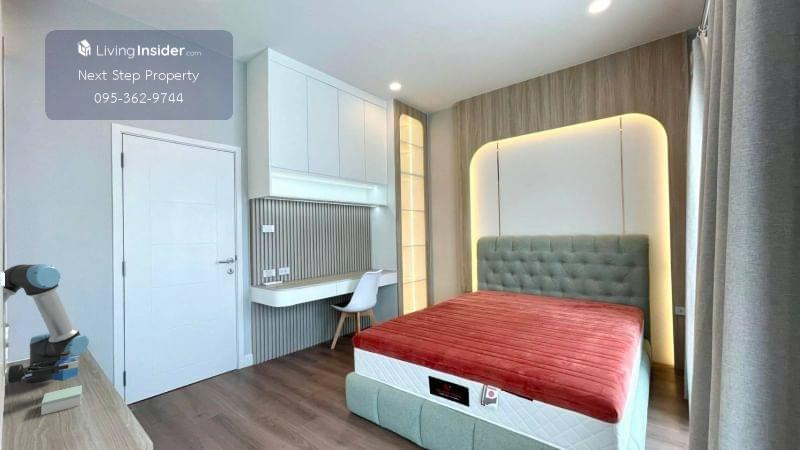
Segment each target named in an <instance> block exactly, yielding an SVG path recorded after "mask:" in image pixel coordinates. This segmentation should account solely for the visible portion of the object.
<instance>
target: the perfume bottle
mask: <svg viewBox="0 0 800 450" xmlns="http://www.w3.org/2000/svg"><path fill="white" fill-rule="evenodd" d="M60 358H61V360H58V361H57V362H56V363H55V365H54V366H59V365H60V364H65V363H70V362H75V361H76V360H75V359H74V358H70V351H67V352H63V353H61V356H60ZM78 376H79V366H78V367H76V368H71V369H66V370H61V371H59V373H54V374H53V378H52V381H61V382H62V381H63V382H64V381H67V380H69V379H72V378H74V377H78Z"/></svg>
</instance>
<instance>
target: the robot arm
mask: <svg viewBox="0 0 800 450" xmlns="http://www.w3.org/2000/svg"><path fill="white" fill-rule="evenodd" d="M3 272H4V273H5V287H4V305H5V304H6V302H7V301H8V299H9V298H10V297H12V296H15V295H16V294H17V293H18V291H19V290H22V289H23V290H24V293H25V294H26V296H28V297H32V299H33V301H34V304H35V305H36V307H37V309H38V311H39V314H40V316H41V318H42V319H43V320H42V321H43V322H44V324H45V326H46V329H47V330H48V332H47V333H41V334H37V335H35V336H34V335H33V336H32V337H31V339H30V341H29V365H28V366H26V367H24V365H23V364H22V363H20V364H19V363H18V364H15V365H11V366H4V367H5V385H8V384H13V383H14V384H15V383H19V382H22V380H23V378H24V382H25V383H38V382H43V381H48V380H53V374H54V373H59V371H61V370H66V369H71V368H76V367H78V368H79V362H80V356H81V355H84V354H83V353H85V351H86V350H87V348H88V346H89V344H90V339H89V337H88V336H86V335H85V334H81V332H80V331H79V329H78V328H77V327H73V324H72V322H71V320H70V318H69V315H68V314H67V311H66V308H65V306H64V305H63V301H62V300H61V298H60V295H59V292H58V291H57V289H58V287H59V283H60V281H61V272H60V270H59V269H58V268H57V267H55V266H53V265H51V264H45V263H38V264H16V265H12V266H10V267H9V268H7V269H6V270H4V271H3ZM67 351H70V358H74V359H75V360H76V361H75V362H70V363H65V364H60V365H59V366H54V365H55V363H56V362H57V361H58V360H61V358H60V356H61V353H63V352H67Z"/></svg>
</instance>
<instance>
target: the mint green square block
mask: <svg viewBox="0 0 800 450" xmlns="http://www.w3.org/2000/svg"><path fill="white" fill-rule="evenodd" d="M82 397H83V385H82V384H81V385H77V386H73V387H67V388H63V389H59V390H53V391H50V392H45V393H44V395H43V397H42V400H41V401H42V402H41V408H40V409H41V414H40V415H41V416H43V415H47V414H52V413H55V412H60V411H63V410H68V409H72V408H75V407H79V406H81V404H82Z"/></svg>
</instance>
